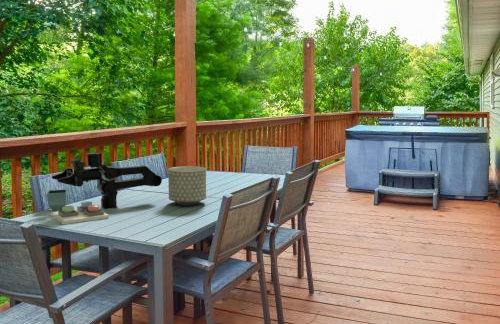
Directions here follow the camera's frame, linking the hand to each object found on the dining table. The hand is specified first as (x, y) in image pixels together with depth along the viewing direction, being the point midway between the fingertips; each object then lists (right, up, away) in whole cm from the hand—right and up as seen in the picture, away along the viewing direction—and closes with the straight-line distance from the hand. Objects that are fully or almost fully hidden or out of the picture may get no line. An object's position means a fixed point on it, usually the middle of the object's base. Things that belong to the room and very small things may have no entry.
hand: (54, 179), depth 233 cm
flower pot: (-3, -15, +12) cm, 20 cm away
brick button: (+19, -15, -4) cm, 24 cm away
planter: (+58, -14, +26) cm, 65 cm away
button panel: (+12, -17, -2) cm, 21 cm away
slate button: (+13, -14, +4) cm, 20 cm away
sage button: (+8, -15, -5) cm, 18 cm away
